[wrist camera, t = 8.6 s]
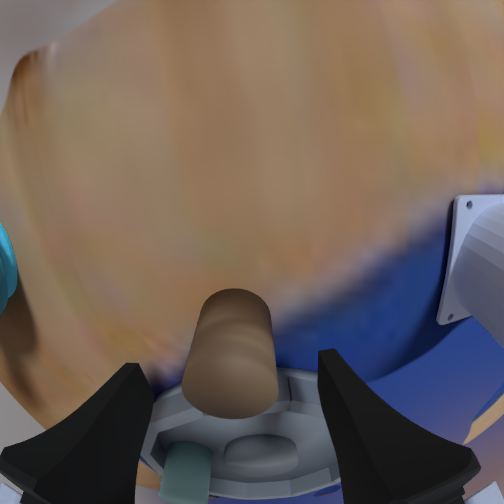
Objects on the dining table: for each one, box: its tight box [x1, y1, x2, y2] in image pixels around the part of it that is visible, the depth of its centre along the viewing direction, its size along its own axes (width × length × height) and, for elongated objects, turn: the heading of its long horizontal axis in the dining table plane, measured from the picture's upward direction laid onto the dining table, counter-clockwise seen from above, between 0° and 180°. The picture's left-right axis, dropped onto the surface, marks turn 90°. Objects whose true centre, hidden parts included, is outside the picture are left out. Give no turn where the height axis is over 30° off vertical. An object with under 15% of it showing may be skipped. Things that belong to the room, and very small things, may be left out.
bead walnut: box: [181, 288, 278, 419], centre depth 12 cm, size 4×4×5 cm
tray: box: [140, 367, 341, 500], centre depth 17 cm, size 18×18×3 cm
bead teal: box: [158, 441, 213, 504], centre depth 15 cm, size 4×4×5 cm
